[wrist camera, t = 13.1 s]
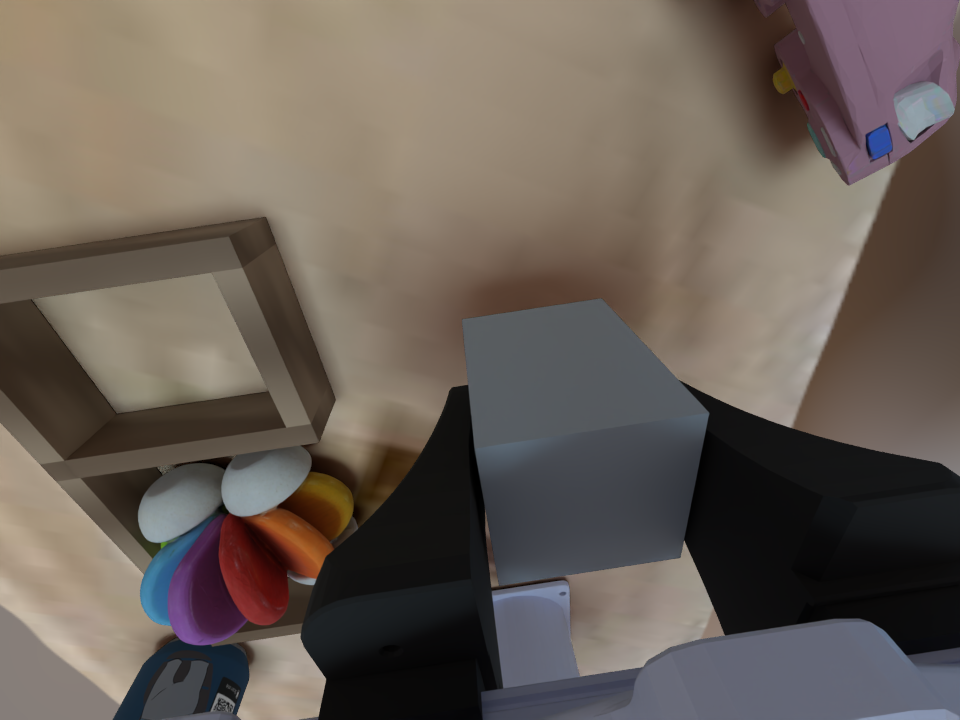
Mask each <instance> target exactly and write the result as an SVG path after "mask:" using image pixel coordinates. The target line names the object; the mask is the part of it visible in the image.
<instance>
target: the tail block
mask: <svg viewBox="0 0 960 720" xmlns="http://www.w3.org/2000/svg"><path fill="white" fill-rule="evenodd" d="M462 327H463V337H464V347H465V357H466V367H467V377H468V387H469V397H470V407H471V417H472V427H473V438H474V448H475V454H476V459H477V465H478V470H479V476H480V482H481V487H482V493H483V498H484V504H485V509H486V515H487V521H488V526H489V532H490V537H491V543H492V549H493V554H494V560H495V565H496V571H497V576H498V582H499V586H501V585H508V584H514V583H520V582H527V581H533V580H540V579H546V578H553V577H559V576H566V575H572V574H579V573H585V572H592V571H598V570H605V569H611V568H618V567H624V566H631V565H637V564H644V563H650V562H656V561H663V560H669V559H676V558H680V557H681V552H682V547H683V542H684V537H685V532H686V527H687V522H688V517H689V512H690V507H691V502H692V497H693V492H694V487H695V482H696V477H697V472H698V467H699V462H700V457H701V452H702V447H703V442H704V437H705V432H706V427H707V422H708V417H709V412H708V411H707V410H706V409H705V408H704V407H703V406H702V405H701V403H700V402H699V401H698V400H697V399H696V398H695V397H694V396H693V395H692V394H691V393H690V392H689V391H688V390H687V389H686V388H685V386H684V385H683V384H682V383H681V382H680V381H679V380H678V379H677V378H676V377H675V376H674V375H673V374H672V373H671V372H670V371H669V369H668V368H667V367H666V366H665V365H664V364H663V363H662V362H661V361H660V360H659V359H658V358H657V357H656V356H655V355H654V353H653V352H652V351H651V350H650V349H649V348H648V347H647V346H646V345H645V344H644V343H643V342H642V341H641V340H640V339H639V338H638V336H637V335H636V334H635V333H634V332H633V331H632V330H631V329H630V328H629V327H628V326H627V325H626V324H625V323H624V322H623V321H622V319H621V318H620V317H619V316H618V315H617V314H616V313H615V312H614V311H613V310H612V309H611V308H610V307H609V306H608V305H607V303H606V302H605V301H604V300H603V299H602V298H600V299H593V300H587V301H580V302H574V303H567V304H560V305H554V306H547V307H540V308H534V309H527V310H521V311H514V312H507V313H501V314H494V315H487V316H481V317H474V318H468V319H462Z"/></svg>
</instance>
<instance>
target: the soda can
mask: <svg viewBox="0 0 960 720" xmlns="http://www.w3.org/2000/svg"><path fill="white" fill-rule="evenodd" d="M248 681H249V667H248V661H247V655H246V652H245V650H244V649H243V647H241V646H240V645H239V644H237V643H233V644H226V645H219V646H213V647H212V645H211V644H209V645H193V644H188V643H185V642H183V641H182V640H181V639H180V638H179V637H178V638H175V639H173V640H171V641H170V642H168V643H167V644H166V645H165V646H163V647H162V648H161V649H160V650H158V651H157V652H156V653H155V654H153V655H152V656H151V657H150V658H149V659H148V660H147V661H146V662H145V663H144V664H143V666H142V668H141V669H140V671H139V673H138V675H137V677H136V678H135V680H134V682H133V684H132V686H131V687H130V689H129V691H128V693H127V695H126V696H125V698H124V700H123V702H122V704H121V706H120V707H119V709H118V711H117V713H116V715H115V717H114V718H113V720H162V719H166V718H173V717H179V716H186V715H192V714H199V713H205V712H212V711H224V712H230V713H232V714H234V715H237V712H238V709H239V706H240V704H241V701H242V698H243V695H244V692H245V689H246V687H247V684H248Z"/></svg>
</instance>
